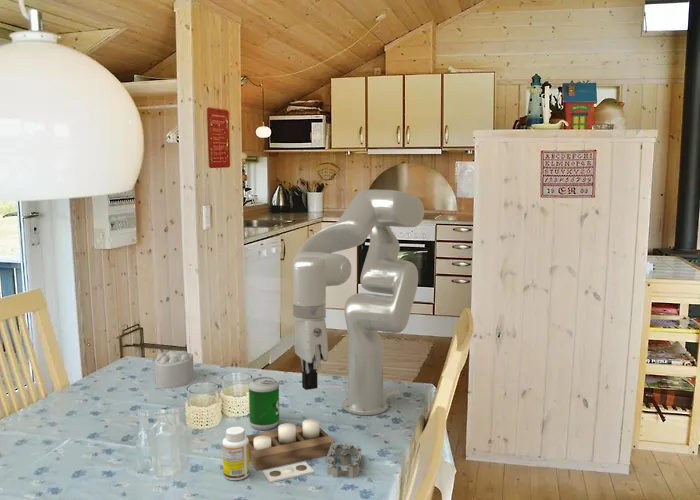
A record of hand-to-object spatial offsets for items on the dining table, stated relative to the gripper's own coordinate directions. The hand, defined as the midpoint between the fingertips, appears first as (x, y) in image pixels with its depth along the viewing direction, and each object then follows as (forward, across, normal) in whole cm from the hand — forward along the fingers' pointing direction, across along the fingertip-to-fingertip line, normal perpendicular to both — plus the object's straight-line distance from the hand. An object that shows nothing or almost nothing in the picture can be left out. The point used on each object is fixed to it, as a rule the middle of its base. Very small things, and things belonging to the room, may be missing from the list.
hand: (309, 387), depth 153 cm
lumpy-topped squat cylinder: (+15, +61, +20) cm, 66 cm away
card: (+14, -10, +9) cm, 20 cm away
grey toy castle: (+15, -12, -3) cm, 20 cm away
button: (+12, 0, 0) cm, 12 cm away
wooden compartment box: (+14, 0, +6) cm, 16 cm away
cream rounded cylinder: (+14, 0, +12) cm, 18 cm away
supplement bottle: (+15, -6, +20) cm, 25 cm away
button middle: (+12, 0, +6) cm, 13 cm away
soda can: (+15, +17, +6) cm, 23 cm away
